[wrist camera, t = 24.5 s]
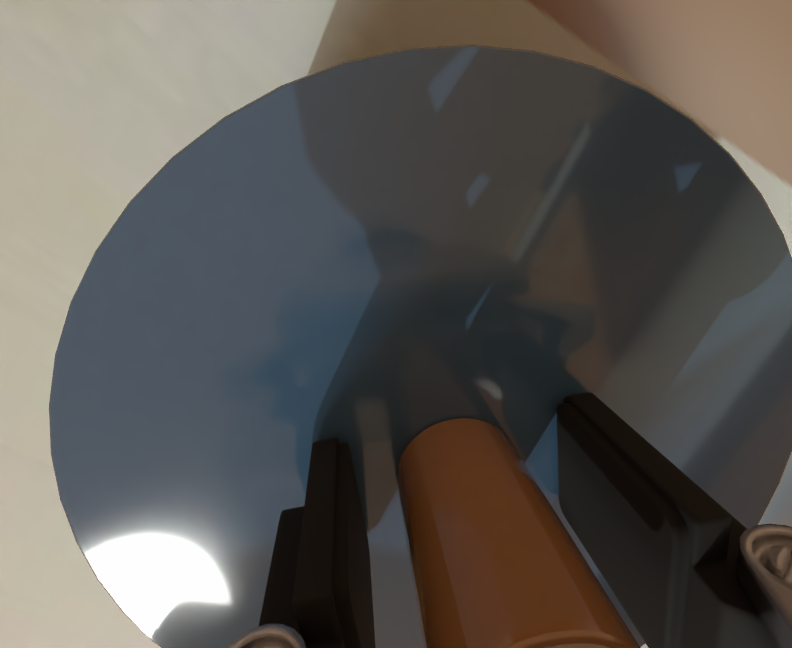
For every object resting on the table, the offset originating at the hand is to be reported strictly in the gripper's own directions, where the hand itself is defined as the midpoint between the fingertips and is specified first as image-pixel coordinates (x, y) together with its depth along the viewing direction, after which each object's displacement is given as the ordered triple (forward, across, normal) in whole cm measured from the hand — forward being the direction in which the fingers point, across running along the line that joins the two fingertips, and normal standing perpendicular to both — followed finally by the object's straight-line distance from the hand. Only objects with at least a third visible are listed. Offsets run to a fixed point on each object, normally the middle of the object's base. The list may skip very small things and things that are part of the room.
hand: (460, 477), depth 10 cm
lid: (+1, 0, 0) cm, 1 cm away
